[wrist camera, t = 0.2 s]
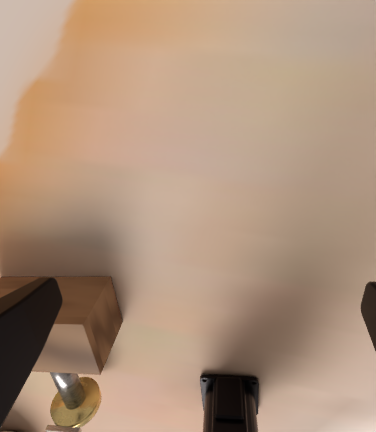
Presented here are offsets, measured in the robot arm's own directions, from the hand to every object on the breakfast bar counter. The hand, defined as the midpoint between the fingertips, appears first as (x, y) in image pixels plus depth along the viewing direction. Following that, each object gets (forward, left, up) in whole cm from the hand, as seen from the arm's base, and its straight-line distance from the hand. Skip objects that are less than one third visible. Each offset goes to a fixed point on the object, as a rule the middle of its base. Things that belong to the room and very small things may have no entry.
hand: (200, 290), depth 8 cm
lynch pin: (-21, +17, -14) cm, 30 cm away
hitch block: (-14, +17, -15) cm, 26 cm away
